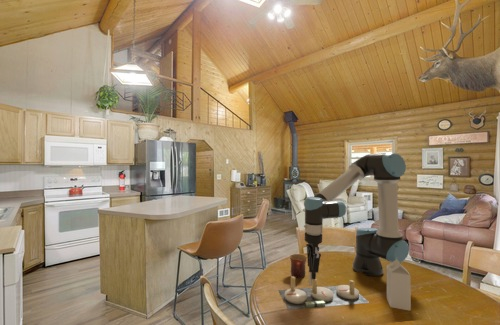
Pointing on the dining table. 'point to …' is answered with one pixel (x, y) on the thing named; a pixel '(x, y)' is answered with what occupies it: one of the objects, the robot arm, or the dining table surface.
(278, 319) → the dining table surface
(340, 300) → the base plate
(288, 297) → the knob
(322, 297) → the knob middle
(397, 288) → the milk carton
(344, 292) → the knob
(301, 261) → the mug
